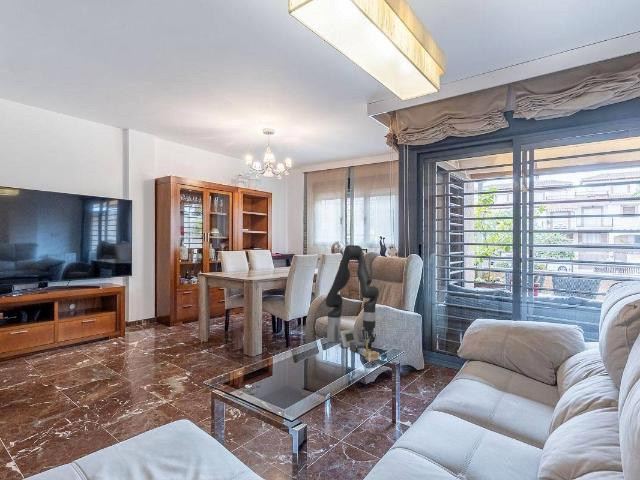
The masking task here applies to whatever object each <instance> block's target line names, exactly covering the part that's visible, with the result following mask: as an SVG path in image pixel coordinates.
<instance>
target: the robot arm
mask: <svg viewBox="0 0 640 480" xmlns="http://www.w3.org/2000/svg"><path fill="white" fill-rule="evenodd" d="M351 260H356V261H357V263H358V265H357V271H356V275H357V278H358V282H359V284H360V294H361V296H362V297H363V298H365V299H369V300H368V301H365V302H364V303H363V315H362V327H363V328H364V329H362V330H361V333H362V336H363V340H364V341H365V342H366V339H368V349H371V350H372V348H373V347H372V346H373V345H372V344H373V343H374V342H375V340H376V337H377V333H374V332H375V331H374V329H375V328H376V305H377V301H378V298H379V295H380V294H379V293H380V291H379V289H378V287H377V286H373V285H372V286H371V284H372V279H371V276H370V274H369V271H368V268H367V264H366V261H365V255H364V251H363V248H362V247H361V246H360V245H355V244H353V245H352V244H347V245H346V246H345V248H344V251H343V253H342V257H341V261H340V264H339V267H338V270H337V272H336V275H335V278H334V280H333V282H332V285H331V288H330V289H329V291H328V293H327V295H326V298H325V305H326V306H327V307H328V308H333V309H332V310H331V311H329V312H327V331H326V333H327V335H326V341H327V342H329V343H340V341H341V338H340V332H341V322H342V321H341V319H342V316H341V315H342V311H343V296H342V295H341V294H339V293H340V291H341V290H343V289H344V288H345V287H346V285H347V284H348V283H349V281H350V277H351V272H350V267H349V262H350V261H351ZM364 348H366V345H365V346H364Z"/></svg>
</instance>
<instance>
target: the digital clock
mask: <svg viewBox="0 0 640 480" xmlns="http://www.w3.org/2000/svg"><path fill="white" fill-rule="evenodd" d="M350 342H360V341H359V338H358V333H357V330H356V329H355V328H350V329H344V330H340V342H339V343H340V345H339V346H340V347H342V348H343V349H348V348H349V349H350Z"/></svg>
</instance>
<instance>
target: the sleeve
mask: <svg viewBox="0 0 640 480" xmlns="http://www.w3.org/2000/svg"><path fill="white" fill-rule="evenodd" d="M356 347H362V348H364V349H365V346H364V343H362V342H360V341H359V342H350V347H349V351H350V352H353V353H357V352H356Z"/></svg>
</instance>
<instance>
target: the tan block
mask: <svg viewBox="0 0 640 480" xmlns="http://www.w3.org/2000/svg"><path fill="white" fill-rule="evenodd" d="M377 359H379V360H380V352H378V351H376V350H371V351H369V352H365V356H364V360H366V361H367V362H375V361H374V360H377Z"/></svg>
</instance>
